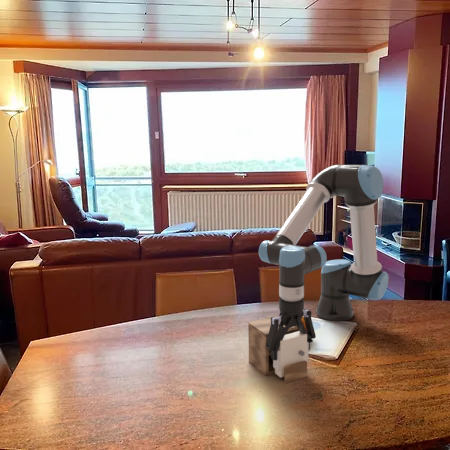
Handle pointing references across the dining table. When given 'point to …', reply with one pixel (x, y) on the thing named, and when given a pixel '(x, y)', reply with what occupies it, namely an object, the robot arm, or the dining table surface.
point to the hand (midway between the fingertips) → (290, 364)
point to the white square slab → (292, 350)
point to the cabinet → (262, 355)
